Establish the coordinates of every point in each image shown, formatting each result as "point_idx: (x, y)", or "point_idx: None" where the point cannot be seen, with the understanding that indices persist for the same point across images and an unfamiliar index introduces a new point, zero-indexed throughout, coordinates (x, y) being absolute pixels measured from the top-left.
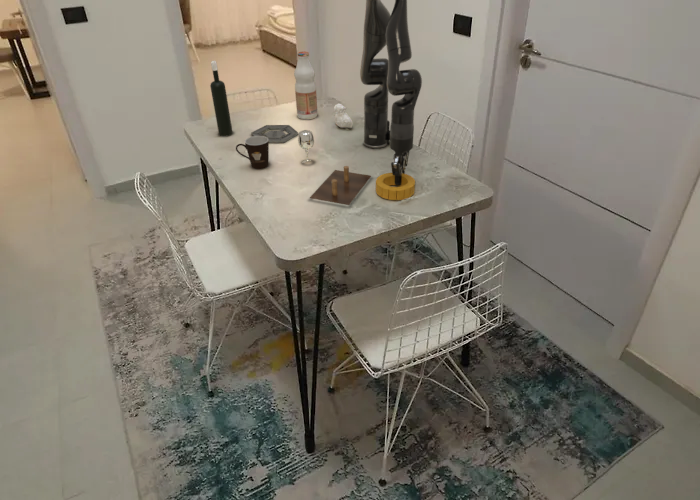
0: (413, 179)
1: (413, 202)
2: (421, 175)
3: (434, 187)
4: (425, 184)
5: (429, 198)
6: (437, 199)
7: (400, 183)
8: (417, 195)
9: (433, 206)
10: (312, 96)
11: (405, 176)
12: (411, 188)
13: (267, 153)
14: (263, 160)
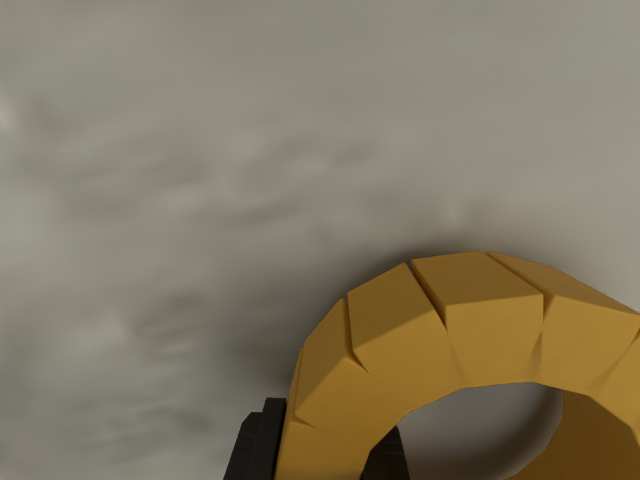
0: (400, 336)
1: (549, 220)
2: (43, 271)
3: (208, 101)
4: (186, 198)
5: (442, 95)
6: (443, 6)
7: None
8: (413, 217)
9: (598, 11)
10: None
11: (350, 437)
12: (609, 302)
13: None
14: None
